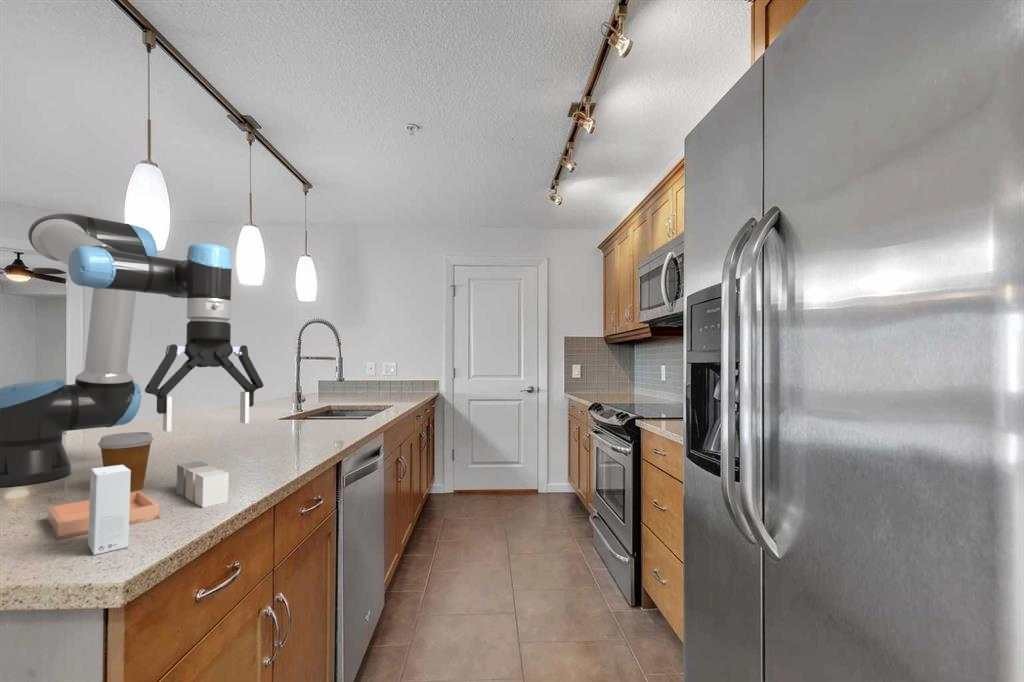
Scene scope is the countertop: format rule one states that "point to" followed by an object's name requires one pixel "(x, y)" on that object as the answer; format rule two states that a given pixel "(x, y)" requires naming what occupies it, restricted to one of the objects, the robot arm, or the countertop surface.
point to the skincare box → (109, 508)
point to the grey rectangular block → (182, 475)
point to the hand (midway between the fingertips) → (207, 426)
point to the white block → (211, 488)
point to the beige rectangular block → (191, 479)
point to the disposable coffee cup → (128, 454)
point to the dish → (76, 515)
